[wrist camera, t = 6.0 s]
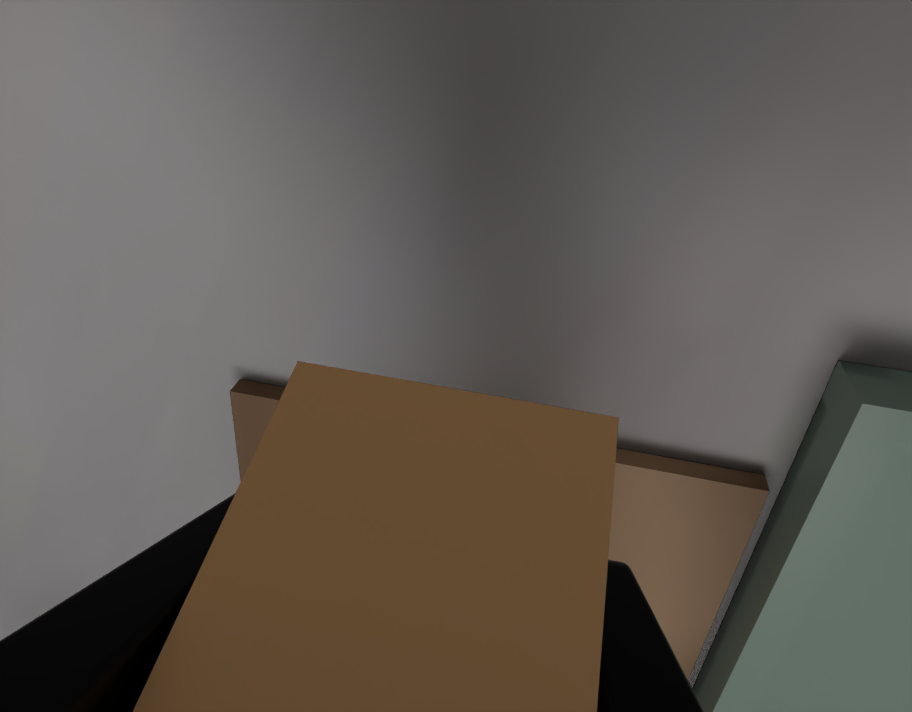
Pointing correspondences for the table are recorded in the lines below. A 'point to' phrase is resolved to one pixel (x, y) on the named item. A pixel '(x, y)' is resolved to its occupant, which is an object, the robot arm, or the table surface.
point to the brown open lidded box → (631, 524)
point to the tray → (829, 567)
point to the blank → (402, 558)
